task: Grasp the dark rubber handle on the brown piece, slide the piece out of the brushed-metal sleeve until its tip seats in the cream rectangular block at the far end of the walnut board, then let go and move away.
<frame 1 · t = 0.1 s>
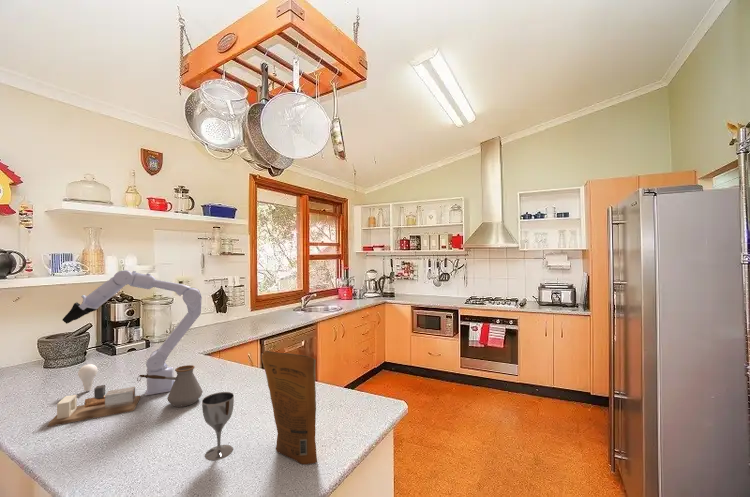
hand: (68, 320, 124), 32 cm above the table, tool tilted 50°, fingers open, 7 cm apart
lightbulb: (88, 391, 137), on the table
cream rectangular block: (67, 416, 115), resting on walnut board
wine glass: (219, 453, 92), on the table
sleeve: (120, 406, 122), resting on walnut board
coffee pot: (171, 408, 120), on the table
pancake mix bag: (293, 455, 90), on the table
brown piece: (109, 394, 121), point 5 cm above the table, slide at 0.0 cm
walnut board: (98, 410, 119), on the table
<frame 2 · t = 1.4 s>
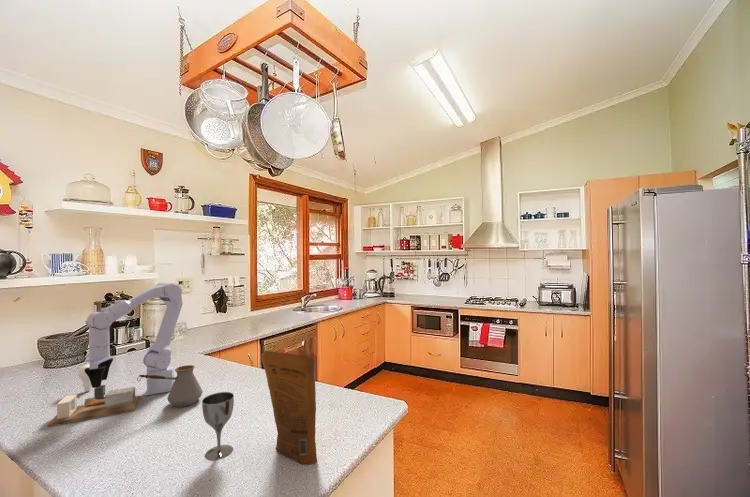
hand: (99, 383, 119), 10 cm above the table, tool pointing down, fingers open, 7 cm apart
nothing on the table moved.
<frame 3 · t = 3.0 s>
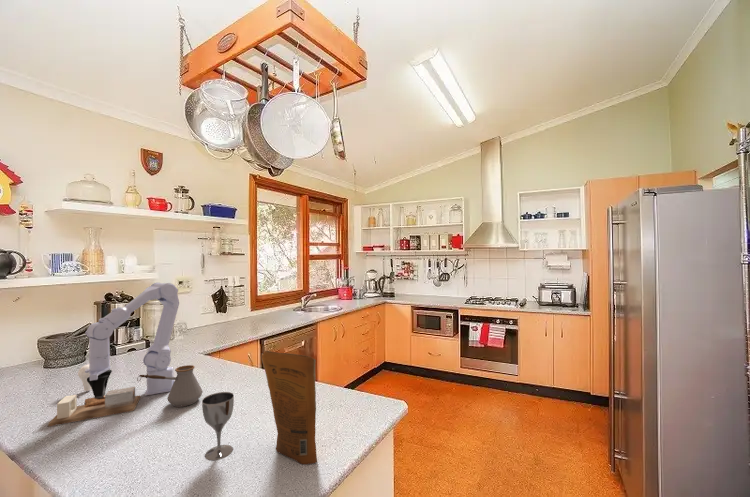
hand: (99, 394, 119), 6 cm above the table, tool pointing down, fingers closed on brown piece, 3 cm apart
brown piece: (109, 394, 121), point 5 cm above the table, slide at 0.0 cm, touching gripper
everything else where it was.
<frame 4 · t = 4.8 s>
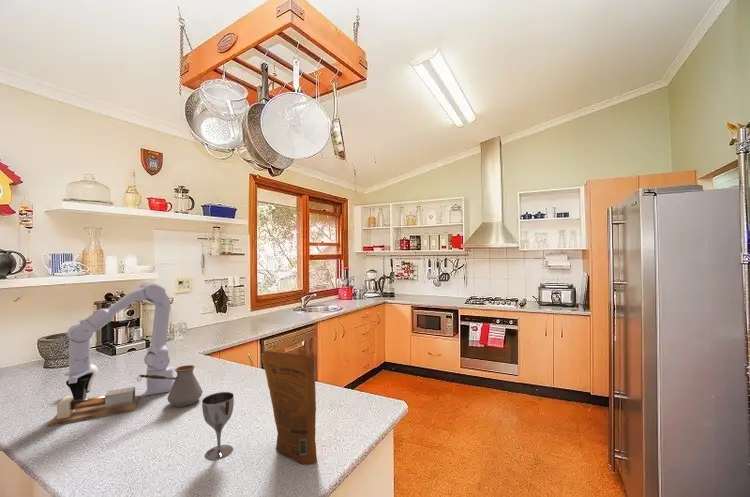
hand: (80, 397, 117), 6 cm above the table, tool pointing down, fingers closed on brown piece, 3 cm apart
brown piece: (90, 397, 118), point 5 cm above the table, slide at 5.5 cm, touching gripper
everything else where it was.
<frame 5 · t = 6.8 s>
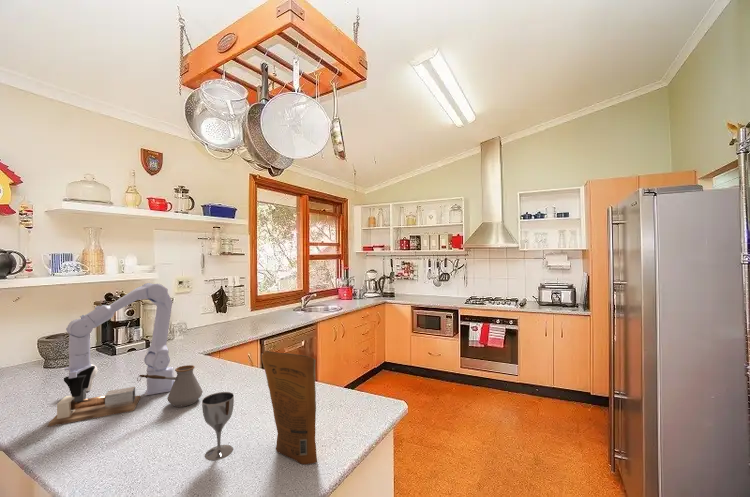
hand: (80, 392, 117), 8 cm above the table, tool pointing down, fingers open, 7 cm apart
brown piece: (90, 397, 118), point 5 cm above the table, slide at 5.5 cm
everything else where it was.
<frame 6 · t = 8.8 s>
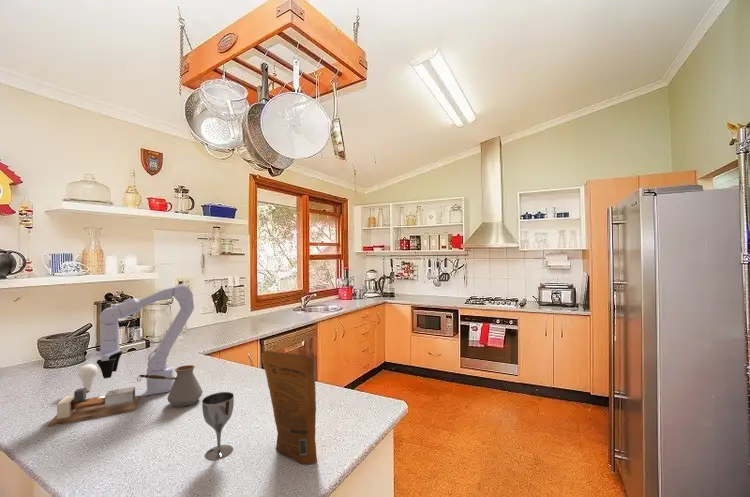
hand: (110, 374, 128), 10 cm above the table, tool pointing down, fingers open, 7 cm apart
nothing on the table moved.
at the end: brown piece slide at 5.5 cm; the gripper is holding nothing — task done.
